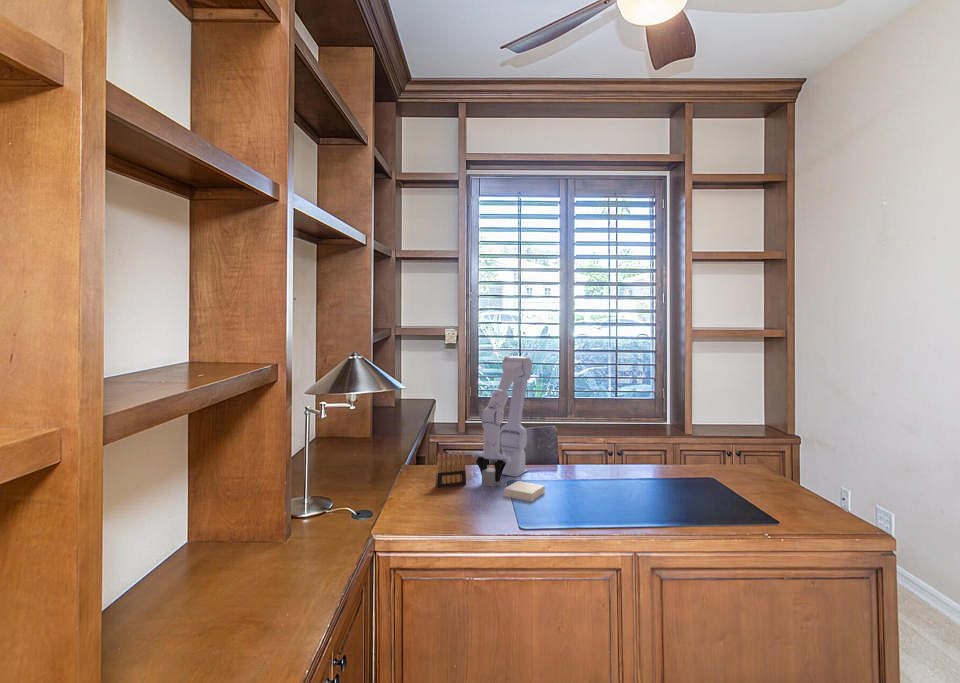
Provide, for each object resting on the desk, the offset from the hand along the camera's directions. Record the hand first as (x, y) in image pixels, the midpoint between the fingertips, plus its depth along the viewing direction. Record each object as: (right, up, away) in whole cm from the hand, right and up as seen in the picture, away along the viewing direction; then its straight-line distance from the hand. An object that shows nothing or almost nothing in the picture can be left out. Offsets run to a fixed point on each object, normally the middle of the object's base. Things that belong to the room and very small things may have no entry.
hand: (491, 480), depth 197 cm
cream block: (+11, -3, -11) cm, 16 cm away
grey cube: (0, -1, 0) cm, 1 cm away
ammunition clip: (-14, -2, -2) cm, 14 cm away
